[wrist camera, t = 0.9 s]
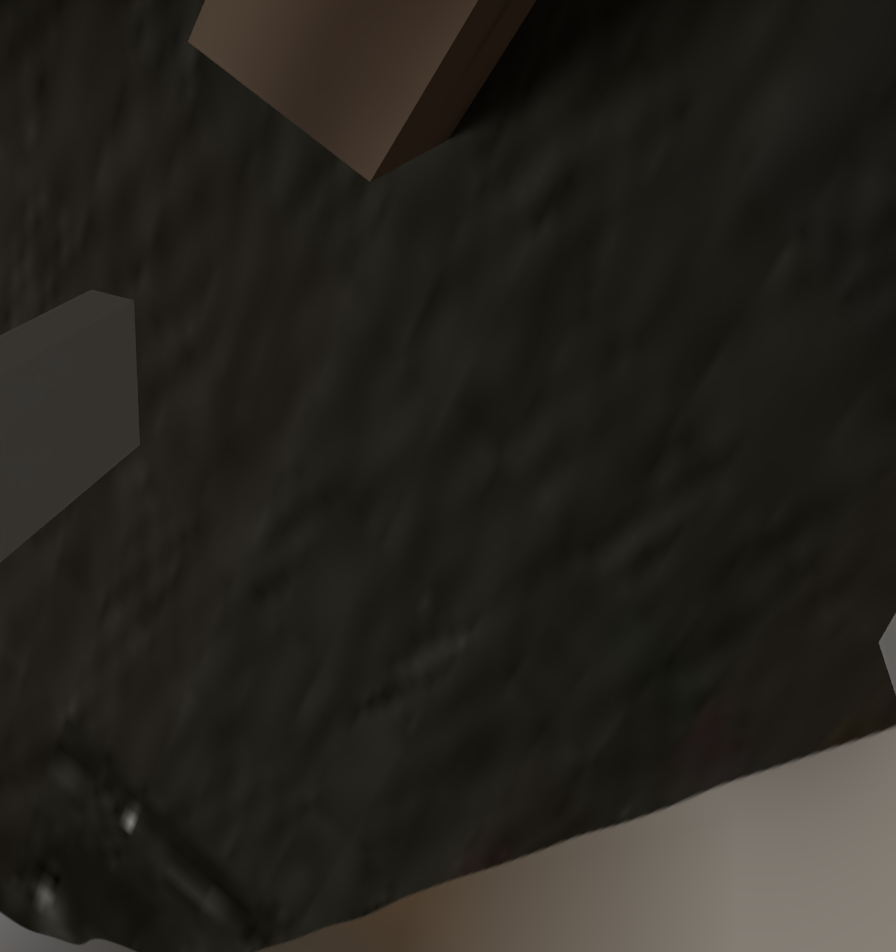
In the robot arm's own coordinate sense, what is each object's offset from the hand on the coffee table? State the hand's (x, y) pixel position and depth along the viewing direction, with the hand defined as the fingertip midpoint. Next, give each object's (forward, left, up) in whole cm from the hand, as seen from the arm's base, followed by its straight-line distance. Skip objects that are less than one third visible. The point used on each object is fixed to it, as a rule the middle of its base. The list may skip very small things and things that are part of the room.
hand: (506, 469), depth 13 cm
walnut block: (-9, +2, -20) cm, 22 cm away
